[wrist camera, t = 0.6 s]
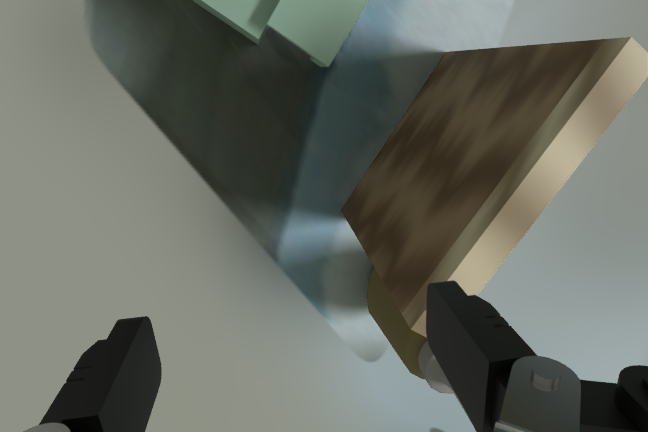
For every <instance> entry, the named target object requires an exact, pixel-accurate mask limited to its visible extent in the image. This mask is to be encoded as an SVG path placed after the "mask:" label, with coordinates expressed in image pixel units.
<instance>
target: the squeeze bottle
mask: <svg viewBox="0 0 648 432" xmlns="http://www.w3.org/2000/svg"><path fill="white" fill-rule="evenodd" d="M367 303H368V309H369V313H370V314H371V315H372V317H373V318H374V320H375V321H376V323H377V324H378V326H379V327H380V329H381V330H382V332H383V333H384V335H385V336H386V338H387V339H388V341H389V342H390V344H391V345H392V347H393V348H394V349H395V351H396V352H397V354H398V355H399V357H400V358H401V360H402V361H403V363H404V364H405V366H406V367H407V368H408V370H409V371H410V372H411V373H412V374H414V375H416V376H418V377H420V378H422V379H426V381H427V382H428V384H429V385H430V386H431V388H433V389H435V390H436V391H438V392H441V393H455V392H454V390H453V388H452V387H451V385H450V383H449V381H448V379H447V378H446V376H445V374H444V372H443V371H442V369H441V367H440V365H439V363H438V362H437V360H436V358H435V356H434V354H433V353H432V351H431V349H430V347H429V344H428V340H427V337H425V336H423V335H421V334H419V333H417V332H415V331H413V330H411V329H410V327H409V326H408V324H407V322H406V320H405V319H404V317H403V315H402V314H401V312H400V310H399V308H398V307H397V305H396V303H395V302H394V300H393V298H392V296H391V295H390V293H389V291H388V290H387V288H386V286H385V284H384V283H383V281H382V279H381V278H380V276H379V274H378V273H377V271H376V269H375V267H374V268H373V269H372V271H371V275H370V279H369V284H368V291H367Z"/></svg>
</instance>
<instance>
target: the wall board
mask: <svg viewBox="0 0 648 432" xmlns="http://www.w3.org/2000/svg"><path fill="white" fill-rule="evenodd" d="M647 77H648V53H647V52H646V51H645V50H644V49H643V48H642V47H641V46H640V45H639V44H638V43H637V42H636V41H635V40H634V39H633V38H632V37H627V38H614V39H601V40H589V41H577V42H565V43H551V44H540V45H527V46H516V47H515V46H514V47H502V48H489V49H477V50H465V51H452V52H446V53H445V55H444V56H443V58H442V59H441V61H440V62H439V64H438V65H437V67H436V68H435V70H434V71H433V73H432V74H431V76H430V77H429V79H428V80H427V82H426V83H425V85H424V86H423V88H422V89H421V91H420V92H419V94H418V95H417V97H416V98H415V100H414V101H413V103H412V104H411V106H410V107H409V109H408V110H407V112H406V113H405V115H404V116H403V118H402V119H401V121H400V122H399V124H398V125H397V127H396V128H395V130H394V131H393V133H392V135H391V136H390V138H389V139H388V141H387V142H386V144H385V145H384V147H383V148H382V150H381V151H380V153H379V154H378V156H377V157H376V159H375V160H374V162H373V163H372V165H371V166H370V168H369V169H368V171H367V172H366V174H365V175H364V177H363V178H362V180H361V181H360V183H359V184H358V186H357V187H356V189H355V190H354V192H353V193H352V195H351V196H350V198H349V199H348V201H347V202H346V204H345V205H344V207H343V208H342V210H341V211H342V213H343V214H344V216H345V218H346V219H347V221H348V223H349V225H350V226H351V228H352V230H353V231H354V233H355V235H356V237H357V238H358V240H359V242H360V243H361V245H362V247H363V249H364V250H365V252H366V254H367V255H368V257H369V259H370V261H371V262H372V264H373V266H374V267H375V269H376V271H377V273H378V274H379V276H380V278H381V279H382V281H383V283H384V284H385V286H386V288H387V290H388V291H389V293H390V295H391V296H392V298H393V300H394V302H395V303H396V305H397V307H398V308H399V310H400V312H401V314H402V315H403V317H404V319H405V320H406V322H407V324H408V326H409V327H410V329H411V330H413V331H415V332H417V333H419V334H421V335H423V336H425V337H427V335H426V303H427V287H428V284H429V283H436V282H444V281H453V280H454V281H456V282H457V283H458V284H459V286H460V287H461V288H462V289H463V290H464V292H465V293H466V294H467V295H468V296H469V295H476V296H477V295H478V294H479V292H480V291H481V290H482V289H483V287H484V286H485V285H486V284H487V282H488V281H489V280H490V278H491V277H492V276H493V274H494V273H495V272H496V271H497V269H498V268H499V267H500V265H501V264H502V263H503V262H504V260H505V259H506V258H507V257H508V255H509V254H510V253H511V251H512V250H513V249H514V248H515V246H516V245H517V243H518V242H519V241H520V240H521V239H522V237H523V236H524V235H525V233H526V232H527V231H528V230H529V228H530V227H531V226H532V224H533V223H534V222H535V220H536V219H537V218H538V217H539V216H540V214H541V212H543V210H544V209H545V208H546V206H547V205H548V204H549V202H550V201H551V200H552V199H553V198H554V196H555V195H556V194H557V192H558V191H559V190H560V189H561V187H562V186H563V185H564V183H565V182H566V181H567V179H568V178H569V177H570V176H571V174H572V173H573V172H574V170H575V169H576V168H577V166H578V165H579V164H580V163H581V162H582V160H583V159H584V158H585V156H586V155H587V154H588V153H589V151H590V150H591V149H592V147H593V146H594V145H595V144H596V142H597V141H598V140H599V138H600V137H601V136H602V134H603V133H604V132H605V131H606V129H607V128H608V127H609V126H610V124H611V123H612V122H613V120H614V119H615V118H616V117H617V115H618V114H619V113H620V111H621V110H622V109H623V108H624V106H625V105H626V104H627V103H628V101H629V100H630V99H631V97H632V96H633V95H634V94H635V92H636V91H637V90H638V88H639V87H640V86H641V85H642V83H643V82H644V81H645V79H646V78H647Z"/></svg>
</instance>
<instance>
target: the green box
mask: <svg viewBox="0 0 648 432" xmlns="http://www.w3.org/2000/svg"><path fill="white" fill-rule="evenodd" d="M192 1H194V2H195V3H197V4H198V5H200V6H201V7H203V8H204V9H206V10H207V11H209V12H210V13H211V14H213V15H214V16H216V17H217V18H219V19H220V20H222V21H223V22H225V23H226V24H228V25H229V26H231V27H232V28H234V29H235V30H237V31H238V32H240V33H241V34H243V35H244V36H246V37H247V38H249V39H250V40H252V41H253V42H255V43H256V44H258V45H259V43H260V41H261V40H262V38H263V36H264V34H265V33H266V31H267V29H268V27H270V28H271V29H273V30H274V31H275V32H277V33H278V34H280V35H281V36H283V37H284V38H286V39H287V40H288V41H290V42H291V43H293V44H294V45H296V46H297V47H299V48H300V49H301V50H303V51H304V52H306V53H307V54H309V55H310V56H311V57H310V60H311V61H313V62H314V63H315V64H317V65H318V66H320V67H329V66H330V64H331V63H332V61H333V59H334V58H335V56H336V54H337V53H338V51H339V49H340V48H341V46H342V44H343V43H344V41H345V39H346V38H347V36H348V35H349V33H350V31H351V30H352V28H353V26H354V25H355V23H356V21H357V20H358V18H359V16H360V15H361V13H362V11H363V10H364V8H365V6H366V5H367V3H368V2H369V0H192Z"/></svg>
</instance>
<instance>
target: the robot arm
mask: <svg viewBox="0 0 648 432" xmlns="http://www.w3.org/2000/svg"><path fill="white" fill-rule="evenodd" d="M426 335H427V340H428V344H429V347H430V349H431V351H432V353H433V354H434V356H435V358H436V360H437V362H438V363H439V365H440V367H441V369H442V371H443V372H444V374H445V376H446V378H447V379H448V381H449V383H450V385H451V387H452V388H453V390H454V392H455V394H456V396H457V397H458V399H459V401H460V403H461V404H462V406H463V408H464V410H465V412H466V413H467V415H468V417H469V419H470V421H471V422H472V424H473V426H474V428H475V430H476V431H477V432H648V366H640V365H638V366H629V367H626V368H624V369H623V370H622V371H621V372H620V374H619V378H618V383H617V384H616V383H605V382H596V381H586V380H580V379H579V378H578V377H577V375H576V374H575V373H574V372H573V371H572V370H571V369H570V368H568V367H567V366H566V365H564V364H562V363H560V362H558V361H556V360H553V359H550V358H546V357H541V356H537V355H536V354H535V353H534V352H533V350H532V349H531V348H530V347H529V346H528V345H527V344H526V343H525V341H523V339H522V338H521V337H520V336H519V335H518V334H517V333H516V332H515V331H514V329H513V328H512V327H511V326H509V325H508V323H507V322H506V321H505V319H504V318H503V317H501V316H500V314H499V313H498V312H497V310H496V309H495V308H494V307H493V306H492V305H491V304H490V303H488V302H487V301H485V300H483V299H481V298H480V297H478V296H476V295H469V296H468V295H467V294H466V293H465V292H464V290H463V289H462V288H461V287H460V286H459V284H458V283H457V282H456V281H454V280H453V281H444V282H436V283H429V284H428V287H427V303H426ZM66 381H67V382H66V383H65V384H64V385H63V387H62V388H61V390H60V391H59V393H58V395H57V396H56V398H55V400H54V401H53V403H52V404H51V406H50V408H49V409H48V411H47V413H46V414H45V416H44V417H43V419H42V421H41V422H40V424H39V425H38V426H35V427H32V428H30V429H28V430H26V431H24V432H145V429H146V426H147V423H148V420H149V417H150V414H151V411H152V408H153V405H154V402H155V399H156V396H157V393H158V389H159V386H160V382H161V362H160V357H159V353H158V349H157V345H156V340H155V336H154V332H153V328H152V324H151V321H150V319H149V317H147V316H145V317H137V318H128V319H120V320H118V321H117V322H116V324H115V326H114V327H113V329H112V331H111V333H110V334H109V336H108V338H107V339H106V340H98V341H97V342H96V343H95V344H94V345H92V346H91V347H90V348H89V349H88V350H87V351H86V352H84V353H83V354H82V356H81V358H80V359H79V361H78V362H77V364H76V366H75V367H74V371H72V372H71V374H70V375H69V377H68V378H67V380H66Z"/></svg>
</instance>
